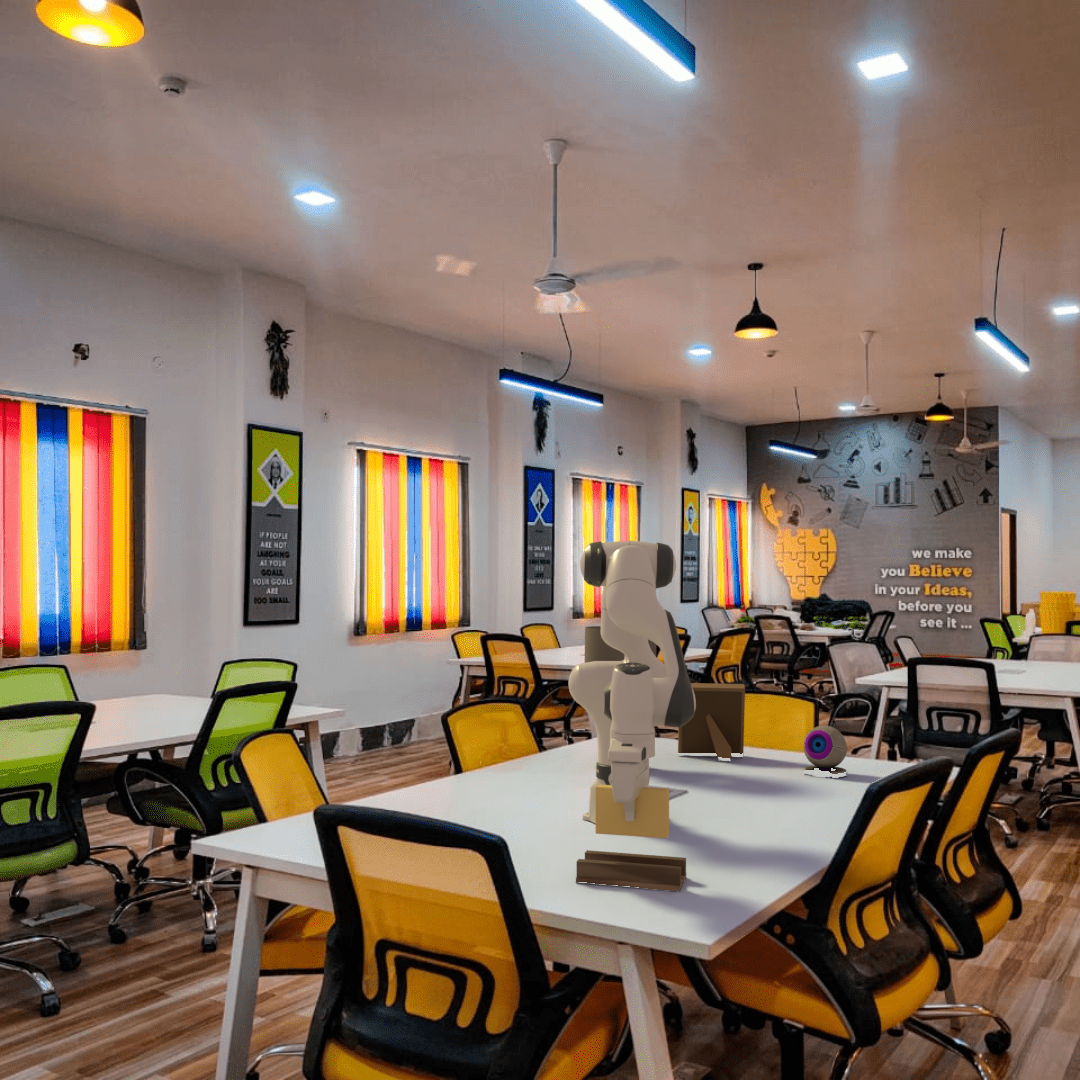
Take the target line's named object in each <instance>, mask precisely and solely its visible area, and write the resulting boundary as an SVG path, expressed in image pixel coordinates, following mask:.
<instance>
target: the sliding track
mask: <svg viewBox="0 0 1080 1080" xmlns="http://www.w3.org/2000/svg"><path fill="white" fill-rule="evenodd" d="M685 879H687V857H683V856H681V857H679V856H666V855H665V856H664V855H656V854H655V855H652V854H641V853H630V852H628V853H627V852H626V853H625V852H613V851H599V850H588V849H587V850H586V851H585V852H584V859H583V858H578V859H577V860H576V876H575V883H576V882H587V883H595V884H606V885H618V886H630V887H639V888H638V889H640V888H648V889H647V890H652V889H657V890H656V891H664V890H669V891H668V892H676V891H680V892H681V890H682V888H683V886H684V884H685V882H686V880H685ZM684 881H685V882H684ZM683 883H684V884H683ZM682 885H683V886H682ZM681 887H682V888H681ZM680 889H681V890H680Z"/></svg>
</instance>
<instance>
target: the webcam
mask: <svg viewBox="0 0 1080 1080" xmlns="http://www.w3.org/2000/svg"><path fill="white" fill-rule="evenodd" d="M803 739H804V740H803V753H804V756H805V757H806V759H807V760H808V762H810V763H811V764H812V765H807V766H805V767H803V770H814V768H819V770H821V771H829V772H830V773H832V774H838V773H844V772H846V771H847V769H845V768H843V767H839V766H838V765H840V764H841V763H842V762H843V761H844V760H845V757H846V755H847V753H848V744H847V740H846V738H845V736H844V735H843V734H842V733H841V731H840V730H839V729H836V728H835V727H833V726H830V725H818V726H816V727H814V728H812V729H811V730H810V731H808V733H807V734H806V735H805V737H804V738H803ZM831 768H833V769H836V770H835V771H831Z"/></svg>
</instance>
